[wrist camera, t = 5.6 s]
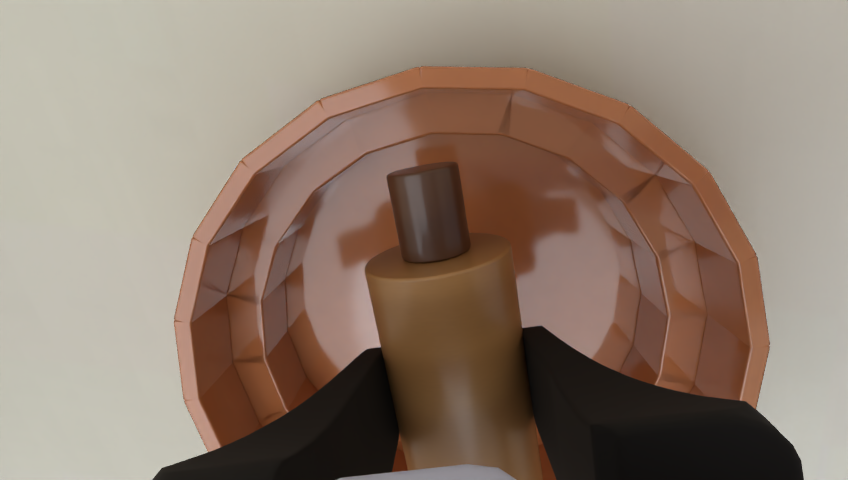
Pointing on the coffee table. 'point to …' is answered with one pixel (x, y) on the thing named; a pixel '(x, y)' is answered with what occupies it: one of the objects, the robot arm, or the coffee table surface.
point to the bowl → (486, 213)
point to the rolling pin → (452, 332)
